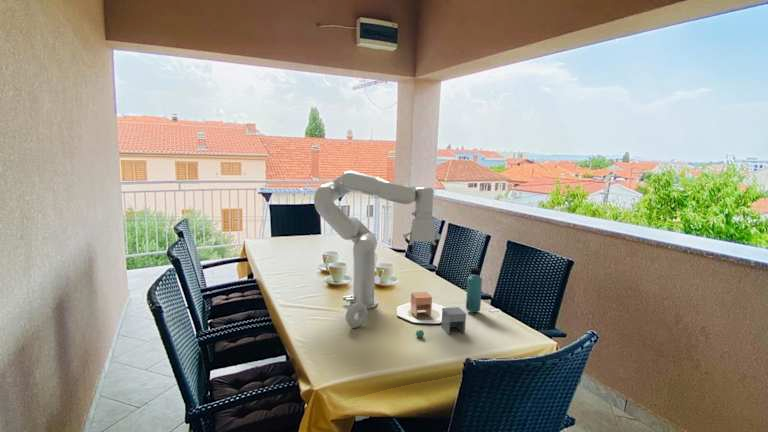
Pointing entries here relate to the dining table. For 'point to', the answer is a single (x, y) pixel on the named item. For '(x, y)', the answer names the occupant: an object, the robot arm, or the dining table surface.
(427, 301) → the pink open box
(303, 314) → the dining table surface
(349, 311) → the donut
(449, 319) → the open-front grey box
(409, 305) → the plate
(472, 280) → the beverage bottle
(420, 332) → the marble
